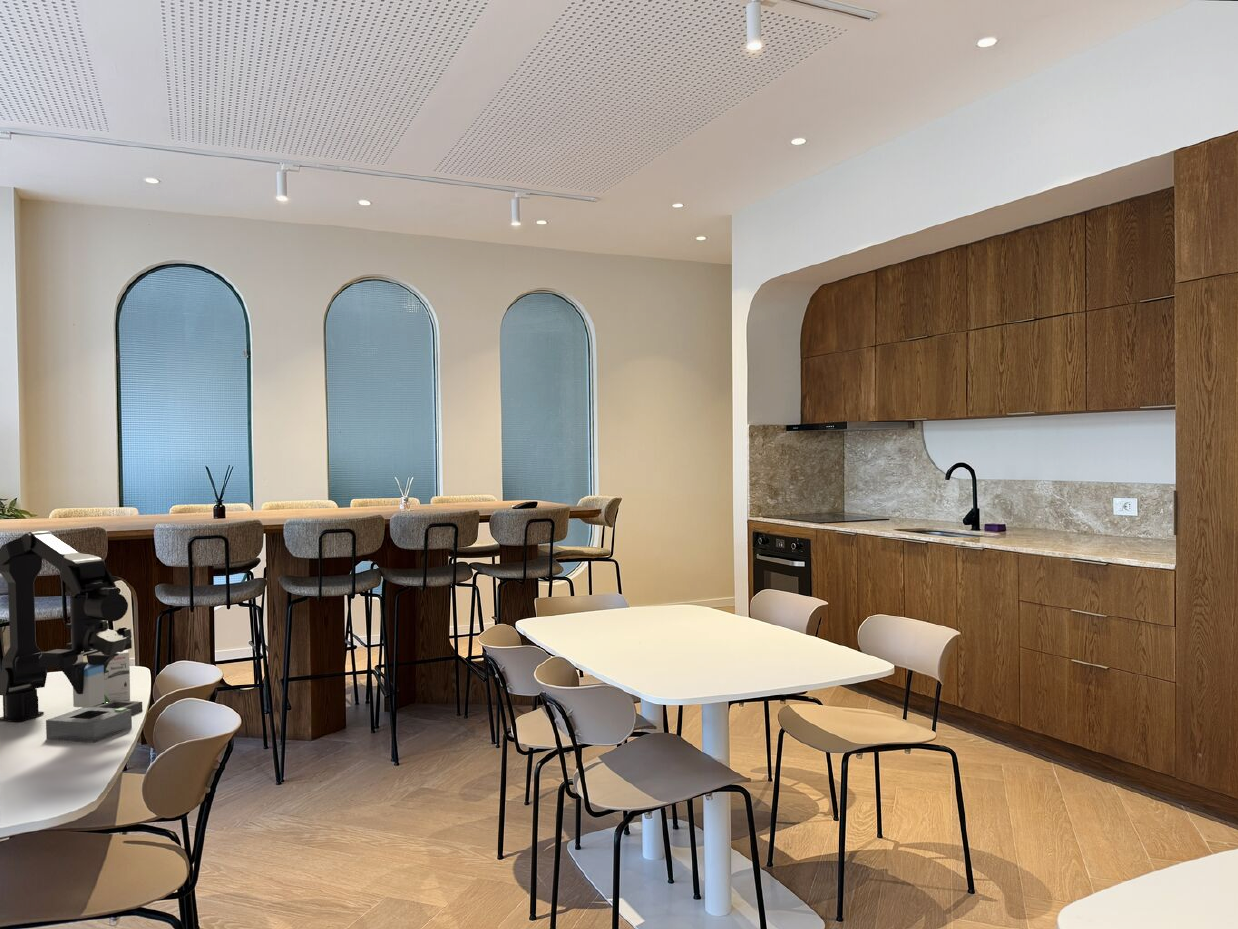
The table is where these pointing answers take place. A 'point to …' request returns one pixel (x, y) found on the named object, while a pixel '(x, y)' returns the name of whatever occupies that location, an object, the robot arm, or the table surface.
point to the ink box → (117, 678)
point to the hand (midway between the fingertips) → (88, 691)
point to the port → (88, 724)
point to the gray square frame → (123, 705)
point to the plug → (91, 687)
